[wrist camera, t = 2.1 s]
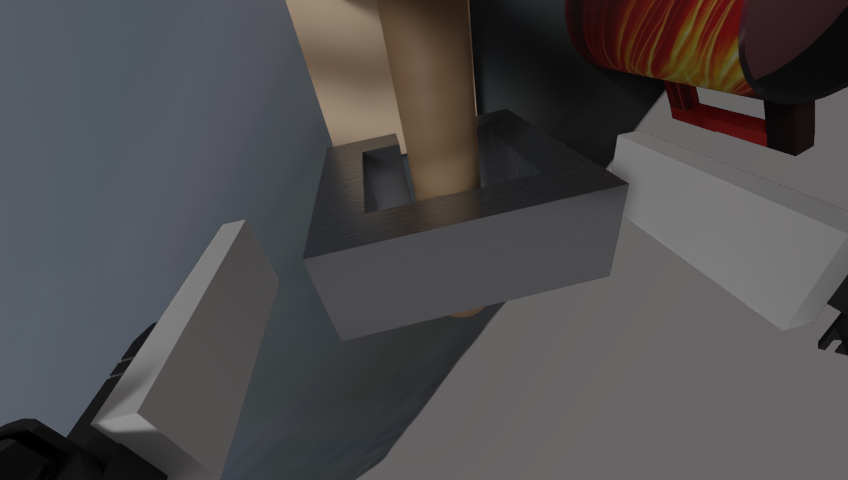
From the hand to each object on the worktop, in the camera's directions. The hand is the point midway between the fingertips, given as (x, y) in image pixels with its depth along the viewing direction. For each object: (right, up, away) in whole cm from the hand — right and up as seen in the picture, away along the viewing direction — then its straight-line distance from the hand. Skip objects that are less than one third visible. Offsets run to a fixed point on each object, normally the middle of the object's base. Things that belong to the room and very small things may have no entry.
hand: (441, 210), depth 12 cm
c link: (-1, +3, +3) cm, 4 cm away
